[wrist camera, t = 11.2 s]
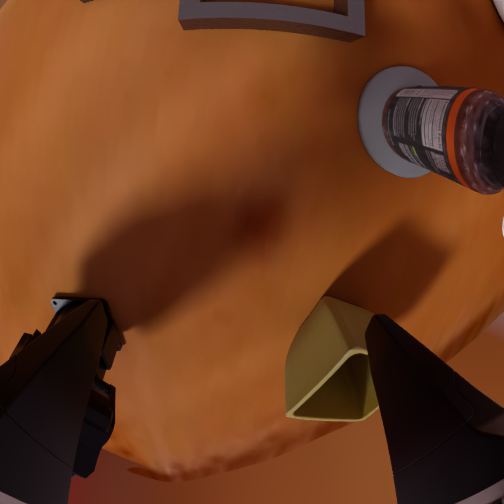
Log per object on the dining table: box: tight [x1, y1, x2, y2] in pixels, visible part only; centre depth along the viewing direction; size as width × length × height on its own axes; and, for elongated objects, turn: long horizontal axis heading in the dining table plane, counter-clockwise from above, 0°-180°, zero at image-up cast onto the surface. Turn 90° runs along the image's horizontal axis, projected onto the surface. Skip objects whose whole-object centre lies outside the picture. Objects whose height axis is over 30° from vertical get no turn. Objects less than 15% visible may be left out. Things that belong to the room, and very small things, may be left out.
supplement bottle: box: [382, 85, 504, 195], centre depth 12 cm, size 6×6×11 cm
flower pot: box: [285, 296, 379, 421], centre depth 23 cm, size 9×9×9 cm
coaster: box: [357, 66, 438, 178], centre depth 18 cm, size 9×9×1 cm
